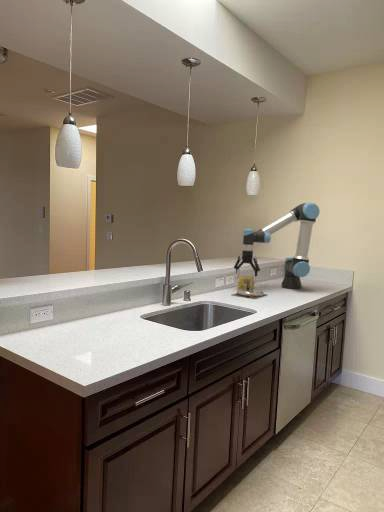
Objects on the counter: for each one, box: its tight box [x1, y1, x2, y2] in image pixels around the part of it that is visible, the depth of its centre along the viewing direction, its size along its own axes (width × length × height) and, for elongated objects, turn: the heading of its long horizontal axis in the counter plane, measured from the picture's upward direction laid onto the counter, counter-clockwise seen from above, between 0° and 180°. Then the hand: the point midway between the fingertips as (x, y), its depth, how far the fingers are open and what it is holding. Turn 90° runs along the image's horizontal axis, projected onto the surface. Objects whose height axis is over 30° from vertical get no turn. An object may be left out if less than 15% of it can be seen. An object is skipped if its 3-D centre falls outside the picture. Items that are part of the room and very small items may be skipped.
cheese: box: [236, 275, 255, 291], centre depth 282 cm, size 10×11×10 cm
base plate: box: [231, 292, 269, 300], centre depth 264 cm, size 19×18×1 cm
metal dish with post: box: [236, 279, 265, 297], centre depth 263 cm, size 18×18×9 cm
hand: (246, 279), depth 282 cm, fingers open, 13 cm apart
